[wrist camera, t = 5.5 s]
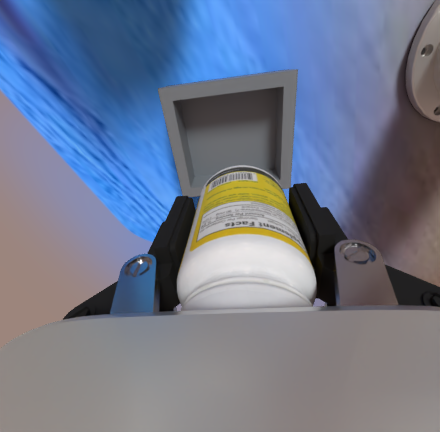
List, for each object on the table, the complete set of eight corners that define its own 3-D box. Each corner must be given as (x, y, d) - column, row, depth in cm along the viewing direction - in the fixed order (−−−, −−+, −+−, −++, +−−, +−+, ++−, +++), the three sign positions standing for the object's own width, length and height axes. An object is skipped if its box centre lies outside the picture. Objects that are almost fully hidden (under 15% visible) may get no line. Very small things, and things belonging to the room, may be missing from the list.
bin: (286, 69, 20) (297, 69, 17) (282, 172, 26) (290, 188, 22) (169, 85, 21) (157, 88, 18) (189, 181, 27) (183, 197, 23)
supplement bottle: (249, 246, 14) (261, 417, 7) (185, 212, 13) (126, 375, 6) (303, 193, 12) (395, 369, 5) (230, 144, 11) (218, 286, 4)
